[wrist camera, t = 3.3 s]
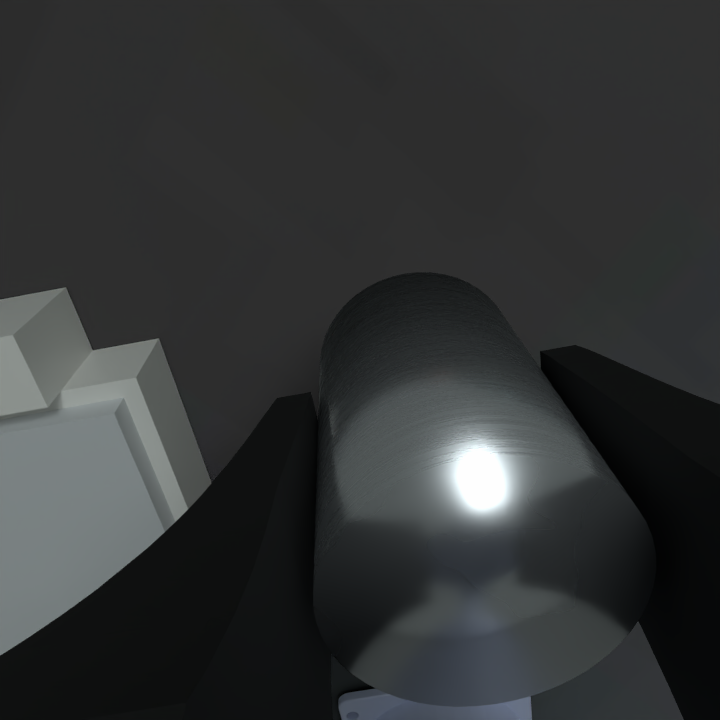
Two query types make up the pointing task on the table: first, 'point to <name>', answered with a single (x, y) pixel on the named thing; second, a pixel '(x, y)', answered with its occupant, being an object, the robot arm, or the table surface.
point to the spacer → (462, 506)
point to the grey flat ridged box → (81, 459)
